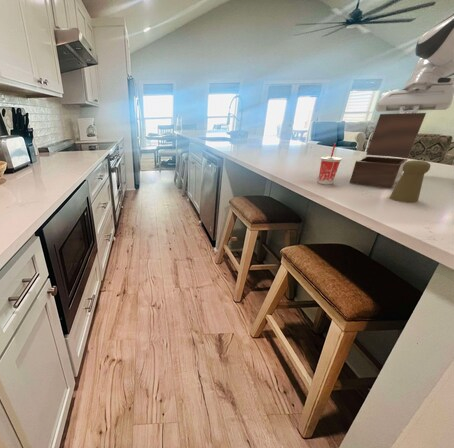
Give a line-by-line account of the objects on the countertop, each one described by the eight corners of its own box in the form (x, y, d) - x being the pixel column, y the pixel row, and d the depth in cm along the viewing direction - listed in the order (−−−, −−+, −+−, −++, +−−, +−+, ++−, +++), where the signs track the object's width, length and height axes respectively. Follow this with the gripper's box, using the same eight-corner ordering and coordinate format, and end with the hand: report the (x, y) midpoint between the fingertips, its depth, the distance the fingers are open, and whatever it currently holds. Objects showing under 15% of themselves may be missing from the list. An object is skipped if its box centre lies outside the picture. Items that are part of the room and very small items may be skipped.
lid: (426, 112, 79) (426, 113, 80) (380, 114, 88) (380, 114, 88) (408, 157, 84) (408, 157, 84) (366, 154, 92) (366, 154, 93)
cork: (399, 202, 68) (414, 163, 64) (384, 195, 74) (397, 159, 69) (424, 202, 67) (441, 162, 63) (407, 196, 73) (422, 159, 68)
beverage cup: (331, 180, 91) (341, 142, 86) (337, 185, 86) (349, 144, 80) (313, 180, 93) (322, 142, 87) (318, 184, 88) (328, 144, 82)
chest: (391, 188, 80) (400, 164, 77) (349, 182, 88) (355, 161, 85) (399, 180, 88) (407, 159, 84) (359, 176, 96) (365, 156, 93)
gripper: (384, 84, 96) (369, 112, 95) (462, 77, 82) (447, 109, 80) (382, 97, 101) (368, 123, 99) (457, 92, 86) (442, 123, 85)
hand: (404, 117), depth 90 cm, fingers closed
